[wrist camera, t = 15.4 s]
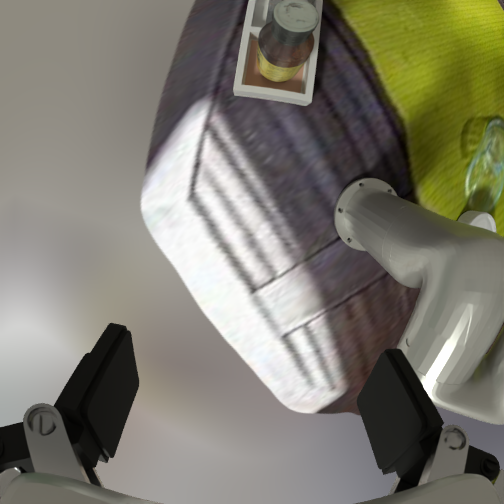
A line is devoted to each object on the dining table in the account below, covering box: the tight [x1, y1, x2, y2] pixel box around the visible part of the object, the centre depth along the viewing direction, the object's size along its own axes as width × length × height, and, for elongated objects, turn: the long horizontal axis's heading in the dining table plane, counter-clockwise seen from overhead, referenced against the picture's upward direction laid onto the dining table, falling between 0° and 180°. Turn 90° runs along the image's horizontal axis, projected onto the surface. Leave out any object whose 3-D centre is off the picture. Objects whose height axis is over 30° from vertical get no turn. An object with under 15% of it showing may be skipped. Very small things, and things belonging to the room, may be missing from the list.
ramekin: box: [457, 210, 496, 233], centre depth 43 cm, size 11×11×5 cm
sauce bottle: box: [257, 0, 319, 82], centre depth 25 cm, size 7×6×20 cm
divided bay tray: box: [233, 0, 323, 106], centre depth 32 cm, size 21×11×4 cm, turn 172°
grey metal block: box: [266, 0, 308, 24], centre depth 27 cm, size 5×5×8 cm
